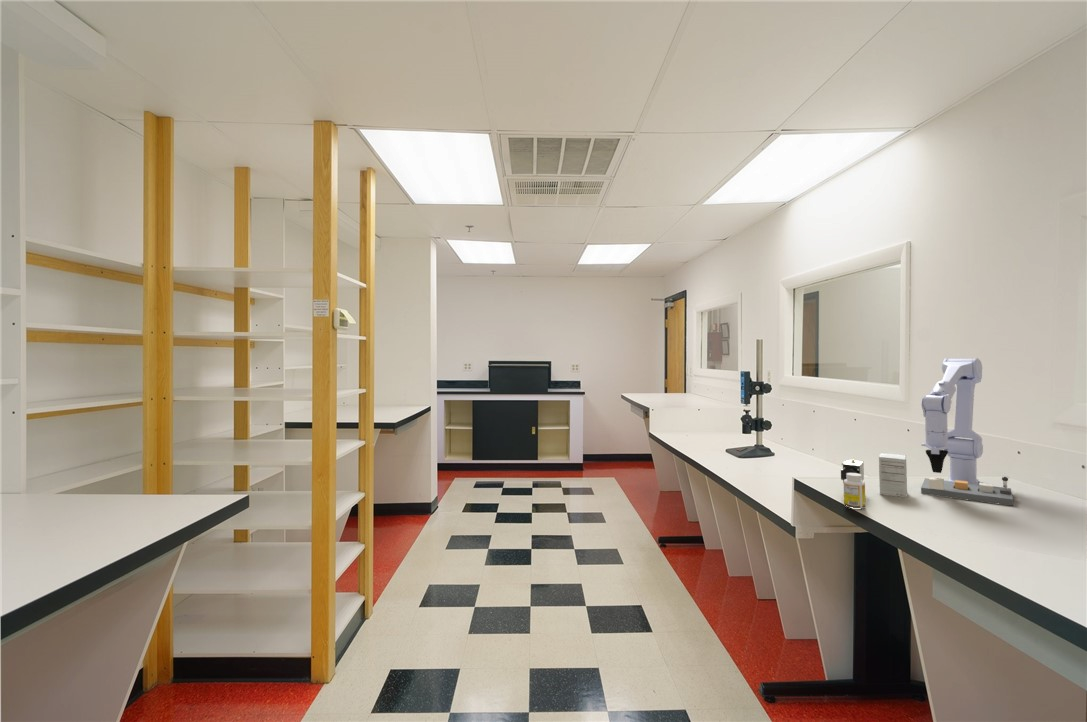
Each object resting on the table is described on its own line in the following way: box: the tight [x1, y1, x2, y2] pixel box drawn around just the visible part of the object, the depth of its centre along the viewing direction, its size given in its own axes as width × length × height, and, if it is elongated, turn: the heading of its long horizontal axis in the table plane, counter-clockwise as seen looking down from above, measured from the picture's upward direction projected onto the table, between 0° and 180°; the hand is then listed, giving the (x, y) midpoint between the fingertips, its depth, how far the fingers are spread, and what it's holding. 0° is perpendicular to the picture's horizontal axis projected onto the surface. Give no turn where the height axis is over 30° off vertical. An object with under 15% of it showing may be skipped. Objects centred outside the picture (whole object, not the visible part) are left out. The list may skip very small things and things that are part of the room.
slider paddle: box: [928, 477, 945, 490], centre depth 160 cm, size 3×4×3 cm
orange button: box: [955, 480, 968, 490], centre depth 161 cm, size 3×3×2 cm
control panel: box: [920, 478, 1014, 506], centre depth 161 cm, size 15×22×3 cm
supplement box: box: [878, 452, 908, 498], centre depth 163 cm, size 7×7×13 cm
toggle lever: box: [1001, 476, 1009, 488], centre depth 155 cm, size 2×2×3 cm
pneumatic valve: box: [840, 458, 865, 484], centre depth 163 cm, size 6×12×12 cm, turn 140°
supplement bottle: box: [843, 473, 866, 508], centre depth 150 cm, size 6×6×10 cm
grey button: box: [978, 482, 994, 493], centre depth 157 cm, size 3×3×2 cm
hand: (937, 472), depth 162 cm, fingers closed
